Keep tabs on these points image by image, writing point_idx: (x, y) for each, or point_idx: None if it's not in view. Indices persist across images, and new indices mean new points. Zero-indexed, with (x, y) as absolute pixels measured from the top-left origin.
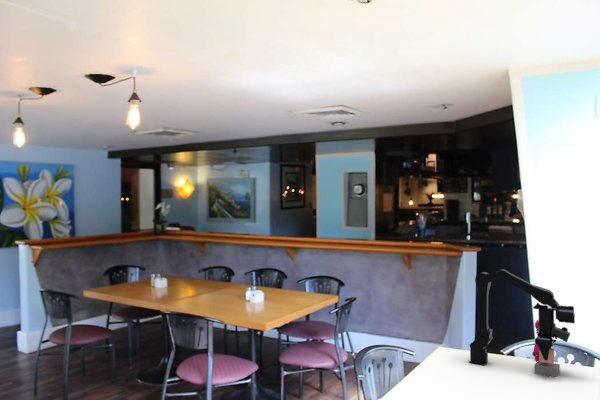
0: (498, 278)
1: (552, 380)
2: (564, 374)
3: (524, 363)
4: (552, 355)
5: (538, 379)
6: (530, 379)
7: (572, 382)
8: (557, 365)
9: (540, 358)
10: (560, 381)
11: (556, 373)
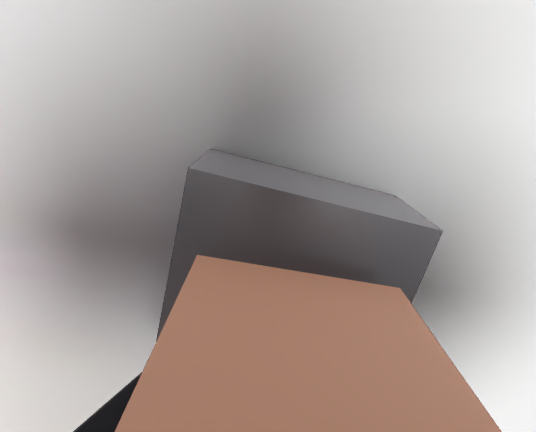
0: None
1: (506, 237)
2: (220, 99)
3: (24, 424)
4: (470, 401)
5: (507, 345)
6: (525, 398)
7: (527, 39)
8: (270, 202)
9: None
10: (521, 166)
11: (400, 205)
